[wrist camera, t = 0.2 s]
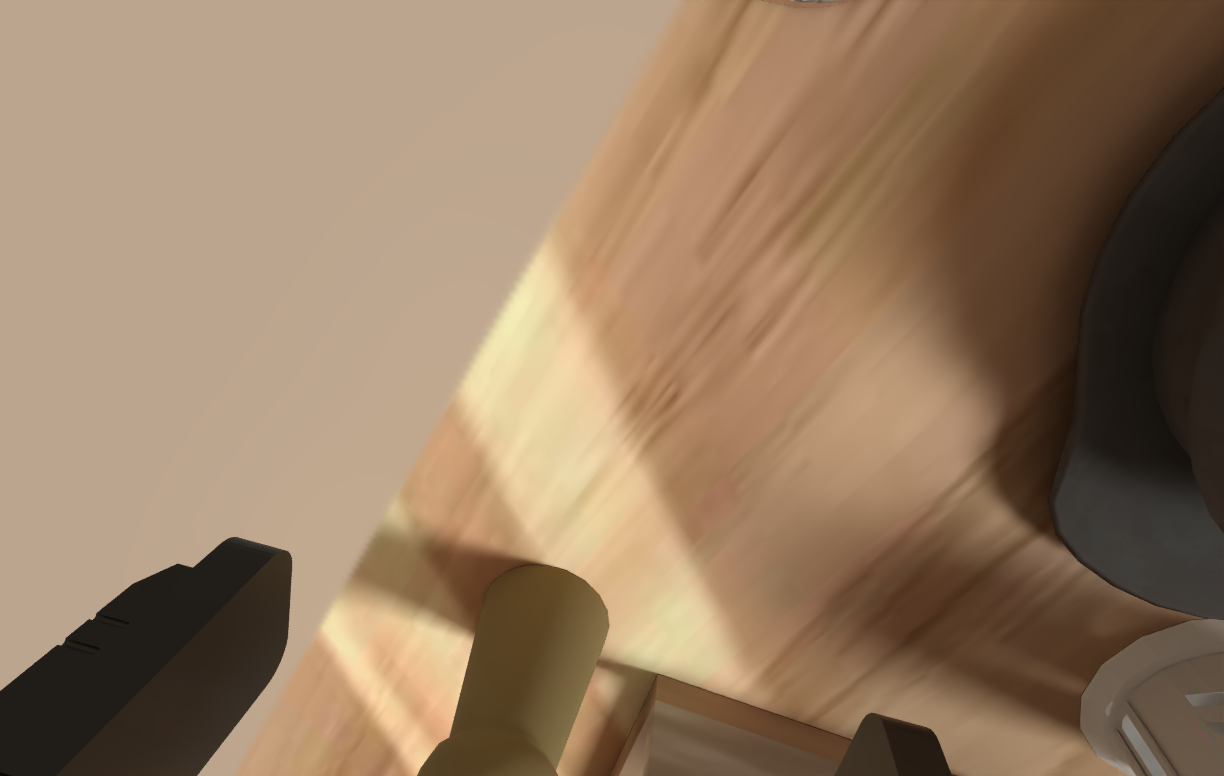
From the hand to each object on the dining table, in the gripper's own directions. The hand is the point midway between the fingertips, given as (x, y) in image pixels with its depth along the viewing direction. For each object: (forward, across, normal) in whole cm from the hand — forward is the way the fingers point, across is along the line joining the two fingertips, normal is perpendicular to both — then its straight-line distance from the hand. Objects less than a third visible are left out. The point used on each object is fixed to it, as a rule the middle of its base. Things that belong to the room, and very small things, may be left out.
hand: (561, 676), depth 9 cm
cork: (+19, +1, +15) cm, 24 cm away
